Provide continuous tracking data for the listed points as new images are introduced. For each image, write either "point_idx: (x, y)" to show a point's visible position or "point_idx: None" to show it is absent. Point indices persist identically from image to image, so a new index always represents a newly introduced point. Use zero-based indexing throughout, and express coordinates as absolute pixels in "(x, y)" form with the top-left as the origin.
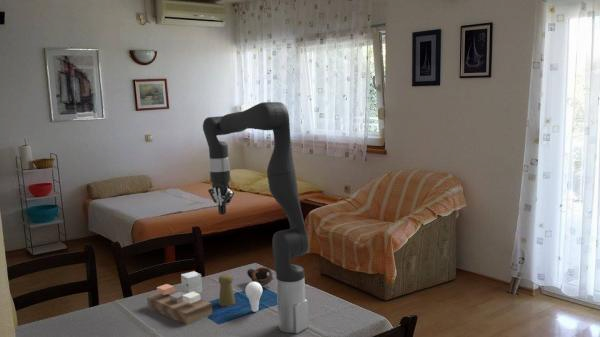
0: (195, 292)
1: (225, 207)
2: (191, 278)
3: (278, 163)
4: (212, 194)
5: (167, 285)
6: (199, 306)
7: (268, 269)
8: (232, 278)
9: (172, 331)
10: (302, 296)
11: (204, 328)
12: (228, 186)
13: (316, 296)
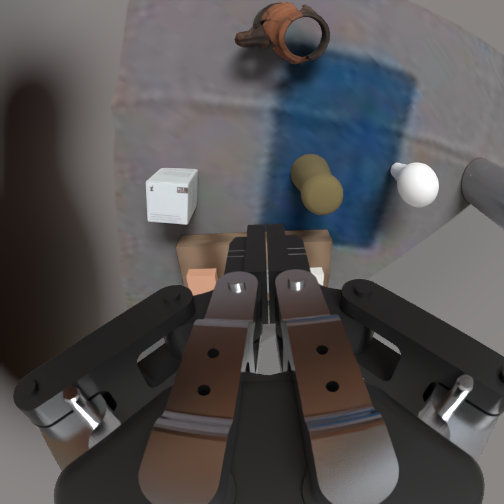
0: None
1: (307, 267)
2: (188, 213)
3: None
4: (134, 413)
5: (198, 281)
6: (322, 266)
7: (310, 15)
8: (339, 182)
9: None
10: None
11: (360, 273)
12: (471, 498)
13: (442, 37)
